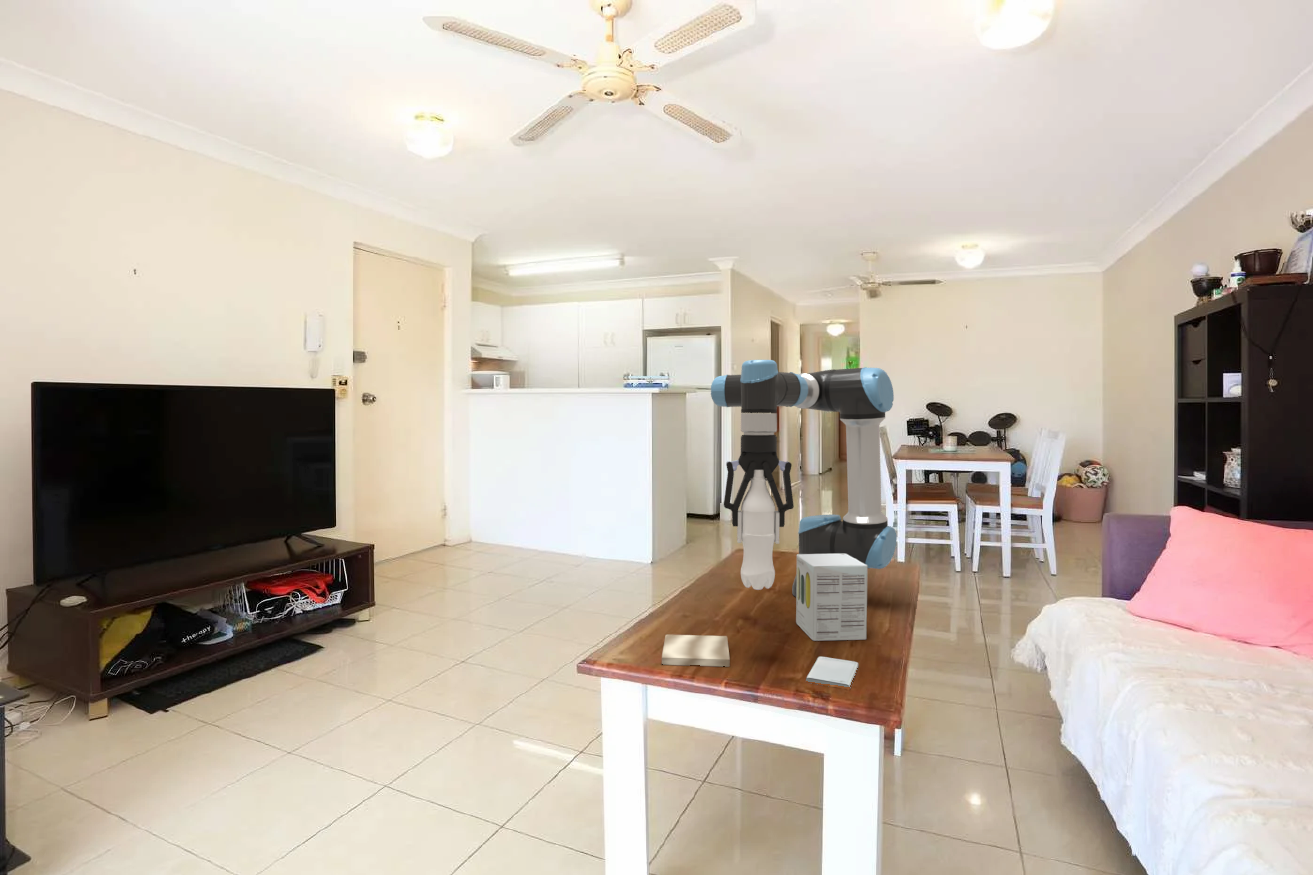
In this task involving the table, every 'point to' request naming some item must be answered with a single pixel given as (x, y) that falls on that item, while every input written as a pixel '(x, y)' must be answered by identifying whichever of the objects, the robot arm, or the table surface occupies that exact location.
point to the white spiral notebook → (832, 671)
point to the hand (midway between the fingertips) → (757, 541)
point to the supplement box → (831, 596)
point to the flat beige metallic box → (696, 650)
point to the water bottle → (758, 534)
